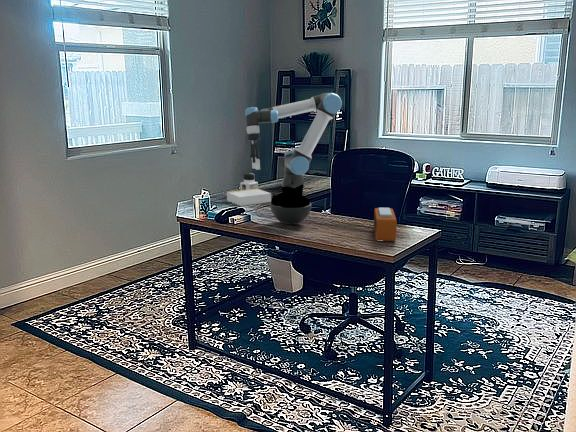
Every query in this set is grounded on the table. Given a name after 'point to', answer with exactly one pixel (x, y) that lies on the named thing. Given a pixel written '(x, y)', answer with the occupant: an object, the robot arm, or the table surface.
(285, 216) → the bowl of black rocks
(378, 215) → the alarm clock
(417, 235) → the table surface
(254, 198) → the block
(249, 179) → the container
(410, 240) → the table surface
